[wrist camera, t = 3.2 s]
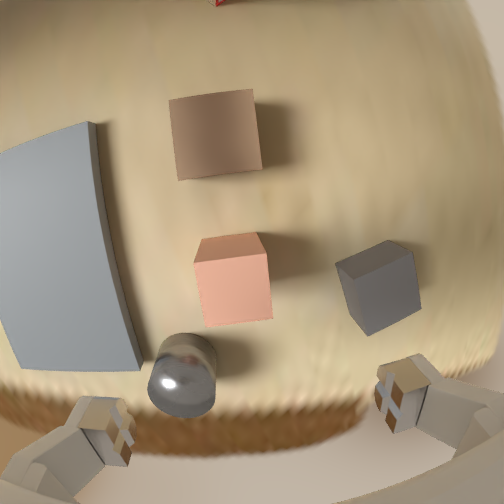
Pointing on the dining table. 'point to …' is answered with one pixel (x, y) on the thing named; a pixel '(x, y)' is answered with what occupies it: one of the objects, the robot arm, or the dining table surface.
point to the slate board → (61, 259)
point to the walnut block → (215, 134)
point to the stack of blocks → (215, 2)
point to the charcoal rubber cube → (380, 286)
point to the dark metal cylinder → (184, 376)
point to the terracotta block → (233, 280)
